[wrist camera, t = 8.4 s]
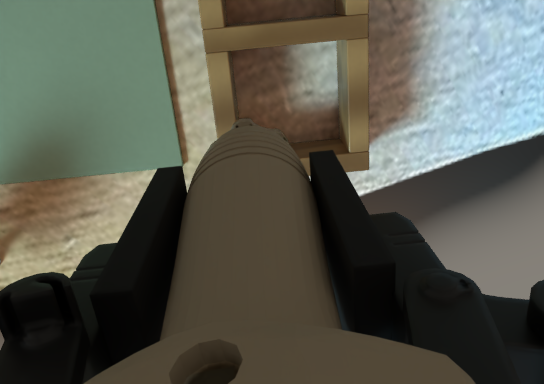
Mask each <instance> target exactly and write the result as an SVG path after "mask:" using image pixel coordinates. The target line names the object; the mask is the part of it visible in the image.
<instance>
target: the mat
mask: <svg viewBox="0 0 544 384" xmlns="http://www.w3.org/2000/svg"><path fill="white" fill-rule="evenodd" d="M174 166H182V167H183V159H182V153H181V148H180V142H179V136H178V131H177V125H176V119H175V113H174V108H173V102H172V96H171V91H170V85H169V79H168V74H167V68H166V62H165V56H164V51H163V45H162V39H161V34H160V28H159V22H158V17H157V11H156V5H155V0H0V184H10V183H20V182H30V181H40V180H51V179H61V178H71V177H81V176H92V175H102V174H112V173H122V172H133V171H143V170H153V169H158V168H164V167H174Z"/></svg>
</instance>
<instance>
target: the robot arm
mask: <svg viewBox="0 0 544 384" xmlns="http://www.w3.org/2000/svg"><path fill="white" fill-rule="evenodd" d="M309 161H310V177H311V184H312V187H313V190H314V194H315V197H316V201H317V205H318V210H319V215H320V221H321V227H322V232H323V238H324V244H325V249H326V255H327V260H328V266H329V271H330V275H331V280H332V285H333V289H334V294H335V298H336V303H337V308H338V312H339V317H340V322H341V326H342V330H345V331H350V332H355V333H360V334H365V335H370V336H375V337H379V338H383V339H387V340H391V341H395V342H400V343H404V344H408V345H412V346H415V347H419V348H422V349H426V350H430V351H433V352H437V353H440V354H444V355H447V356H448V357H449V358H450V359H451V360H452V361H453V362H454V363H456V364H457V365H458V366H459V367H460V368H461V369H462V370H464V371H465V372H466V373H467V374H468V375H469V376H470V377H471V378H472V380H473V381H474V382H475V383H476V384H544V280H542V281H539V282H537V283H536V284H535V285H534V286H533V287H532V288H531V293H530V299H529V300H525V299H513V298H504V297H496V296H490V295H485V294H482V293H481V291H480V289H479V287H478V286H477V285H476V284H475V283H474V281H473V280H471V279H470V278H468V277H466V276H465V275H463V274H461V273H457V272H454V271H451V270H447V269H446V268H445V267H444V265H443V264H442V263H441V261H440V260H439V259H438V257H437V256H436V255H435V253H434V252H433V250H432V249H431V248H430V246H429V245H428V244H427V242H425V239H424V238H423V237H422V235H421V234H420V233H418V230H417V229H416V227H415V226H414V225H413V223H412V222H411V220H409V219H407V218H405V217H404V216H402V215H400V214H398V213H397V212H391V213H381V214H372V215H369V214H368V212H367V210H366V208H365V206H364V205H363V203H362V201H361V199H360V198H359V196H358V194H357V192H356V190H355V189H354V187H353V185H352V183H351V181H350V180H349V178H348V176H347V174H346V172H345V171H344V169H343V167H342V165H341V163H340V162H339V160H338V158H337V156H336V154H335V153H334V151H333V150H326V151H317V152H309ZM186 196H187V190H186V184H185V179H184V173H183V168H182V166H174V167H164V168H158V169H157V171H156V173H155V175H154V176H153V178H152V180H151V182H150V184H149V186H148V187H147V189H146V191H145V193H144V195H143V197H142V199H141V200H140V202H139V204H138V206H137V208H136V210H135V212H134V213H133V215H132V217H131V219H130V221H129V223H128V224H127V226H126V228H125V230H124V232H123V234H122V236H121V237H120V239H119V241H118V243H111V244H102V245H98V246H97V247H96V248H94V249H93V250H92V251H90V252H89V253H88V254H86V255H85V256H84V257H83V259H82V260H81V262H80V263H79V265H78V267H77V268H76V271H74V273H73V274H72V276H71V277H70V278H68V277H67V276H66V275H64V274H62V273H55V272H49V273H40V274H36V275H32V276H29V277H26V278H23V279H20V280H18V281H16V282H14V283H12V284H10V285H8V286H7V287H5V288H4V289H2V290H1V291H0V330H1V332H2V335H3V337H4V340H5V341H4V344H3V346H2V348H1V350H0V384H84V383H85V382H87V381H88V380H90V379H91V378H93V377H94V376H96V375H98V374H99V373H101V372H103V371H104V370H106V369H108V368H110V367H111V366H113V365H115V364H117V363H119V362H120V361H122V360H124V359H126V358H127V357H129V356H131V355H133V354H134V353H137V352H139V351H141V350H143V349H145V348H147V347H149V346H151V345H153V344H155V343H157V342H159V341H160V337H161V332H162V327H163V322H164V317H165V312H166V306H167V301H168V296H169V291H170V286H171V281H172V276H173V271H174V266H175V259H176V253H177V247H178V240H179V234H180V228H181V222H182V215H183V209H184V203H185V200H186Z"/></svg>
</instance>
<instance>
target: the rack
mask: <svg viewBox="0 0 544 384" xmlns="http://www.w3.org/2000/svg"><path fill="white" fill-rule="evenodd" d="M198 4H199V11H200V18H201V25H202V29H203V30H202V32H203V39H204V46H205V52H206V61H207V68H208V75H209V82H210V89H211V96H212V103H213V110H214V118H215V125H216V132H217V139H218V138H219V137H220V136H222V135H223V134H225V133H226V132H228V131H230V130H231V128H232V125H233V123H234V122H236V121H237V120H239V116H238V107H237V99H236V90H235V82H234V74H233V65H232V57H231V51H234V50H244V49H254V48H265V47H275V46H285V45H296V44H306V43H317V42H327V41H337V70H338V103H339V137H340V139H331V140H321V141H311V142H300V143H290V144H289V145H290V146H291V147H292V148H293V150H294V151H295V153H296V154H297V155H298V157H299V159H300V160H301V162H302V164H303V166H304V167H305V170H306V172H307V174H308V176H310V161H309V152H317V151H326V150H333V151H334V153H335V154H336V156H337V158H338V160H339V162H340V163H341V165H342V167H343V169H344V171H345V172H353V171H363V170H369V39H368V37H369V15H368V13H369V0H335V6H336V14H335V15H325V16H314V17H304V18H294V19H283V20H273V21H262V22H252V23H242V24H231V25H227V24H228V23H227V15H226V6H225V0H198Z"/></svg>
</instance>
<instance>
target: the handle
mask: <svg viewBox="0 0 544 384" xmlns="http://www.w3.org/2000/svg"><path fill="white" fill-rule="evenodd" d="M84 384H476V383H475V382H474V381H473V380H472V378H471V377H470V376H469V375H468V374H467V373H466V372H465V371H464V370H462V369H461V368H460V367H459V366H458V365H457V364H456V363H454V362H453V361H452V360H451V359H450V358H449V357H448V356H447V355H444V354H440V353H437V352H433V351H430V350H426V349H422V348H419V347H415V346H412V345H408V344H404V343H400V342H395V341H391V340H387V339H383V338H379V337H375V336H370V335H365V334H360V333H355V332H350V331H345V330H342V326H341V322H340V317H339V312H338V308H337V303H336V298H335V294H334V289H333V285H332V280H331V275H330V271H329V266H328V260H327V255H326V249H325V244H324V238H323V232H322V227H321V221H320V215H319V210H318V205H317V201H316V197H315V194H314V190H313V187H312V184H311V181H310V178H309V176H308V174H307V172H306V170H305V167H304V166H303V164H302V162H301V160H300V159H299V157H298V155H297V154H296V153H295V151H294V150H293V148H292V147H291V146H290V145H289V142H288V140H287V138H286V137H285V135H284V134H283V133H282V132H281V131H280V130H279V129H268V128H264V127H261V126H259V125H257V124H255V123H254V122H253V121H252V120H251V119H247V118H246V119H240V120H237V121H236V122H234V123H233V125H232V128H231V130H230V131H228V132H226V133H225V134H223V135H222V136H220V137H219V138H218V139H217V140H216V141H215V142H214V143H213V144H211V146H210V148H209V149H208V151H207V152H206V153H205V155H204V156H203V158H202V160H201V162H200V164H199V166H198V167H197V169H196V171H195V173H194V176H193V178H192V181H191V184H190V187H189V190H188V193H187V196H186V200H185V203H184V209H183V215H182V222H181V228H180V234H179V240H178V247H177V253H176V259H175V266H174V271H173V276H172V281H171V286H170V291H169V296H168V301H167V306H166V312H165V317H164V322H163V327H162V332H161V337H160V341H159V342H157V343H155V344H153V345H151V346H149V347H147V348H145V349H143V350H141V351H139V352H137V353H134V354H133V355H131V356H129V357H127V358H126V359H124V360H122V361H120V362H119V363H117V364H115V365H113V366H111V367H110V368H108V369H106V370H104V371H103V372H101V373H99V374H98V375H96V376H94V377H93V378H91V379H90V380H88V381H87V382H85V383H84Z"/></svg>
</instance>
